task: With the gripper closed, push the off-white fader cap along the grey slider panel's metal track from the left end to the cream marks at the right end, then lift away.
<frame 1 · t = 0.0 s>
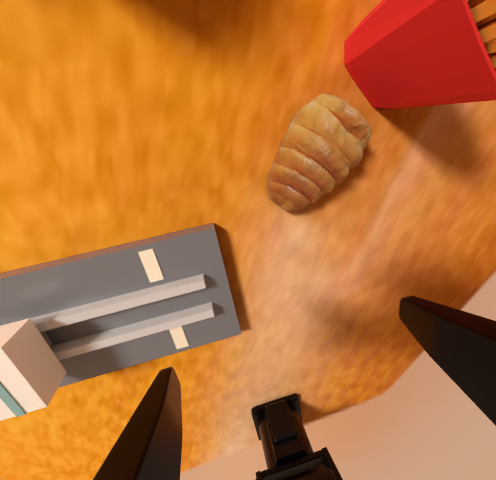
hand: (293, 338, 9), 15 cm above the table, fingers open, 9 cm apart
french fries: (373, 65, 20), on the table
fader: (20, 360, 19), point 4 cm above the table, slide at 6.0 cm
pastry: (310, 155, 22), on the table
grey slider panel: (115, 307, 23), on the table
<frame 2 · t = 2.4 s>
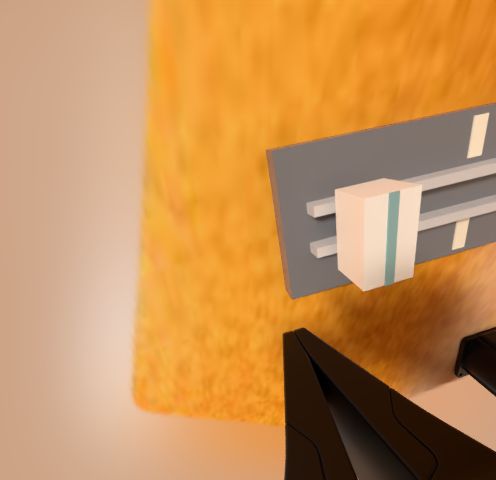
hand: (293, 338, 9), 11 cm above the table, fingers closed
fader: (366, 229, 16), point 4 cm above the table, slide at 6.0 cm
grey slider panel: (399, 198, 21), on the table
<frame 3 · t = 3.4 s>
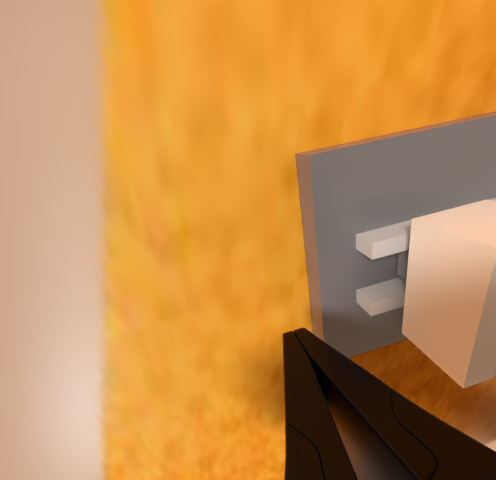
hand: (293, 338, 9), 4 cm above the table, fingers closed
fader: (456, 280, 10), point 4 cm above the table, slide at 6.0 cm
grey slider panel: (476, 220, 15), on the table
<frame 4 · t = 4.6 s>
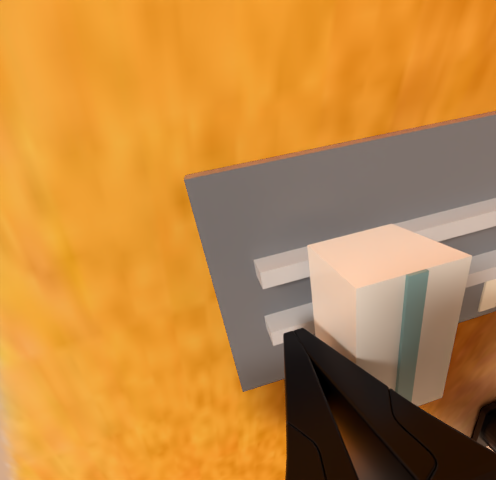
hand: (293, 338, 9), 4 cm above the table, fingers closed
fader: (362, 308, 10), point 4 cm above the table, slide at 5.4 cm, touching gripper
grey slider panel: (403, 240, 14), on the table
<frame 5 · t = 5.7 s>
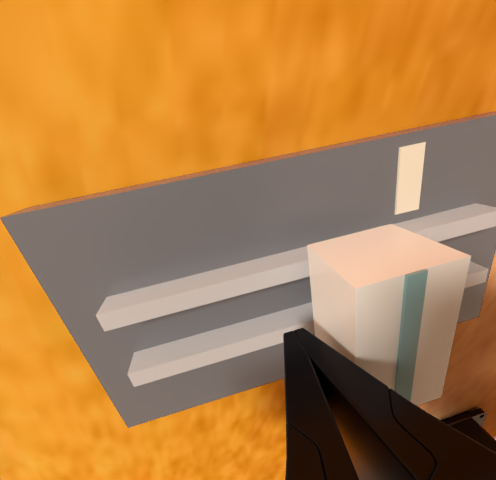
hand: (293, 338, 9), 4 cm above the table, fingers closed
fader: (361, 308, 10), point 4 cm above the table, slide at -1.0 cm, touching gripper
grey slider panel: (299, 268, 13), on the table
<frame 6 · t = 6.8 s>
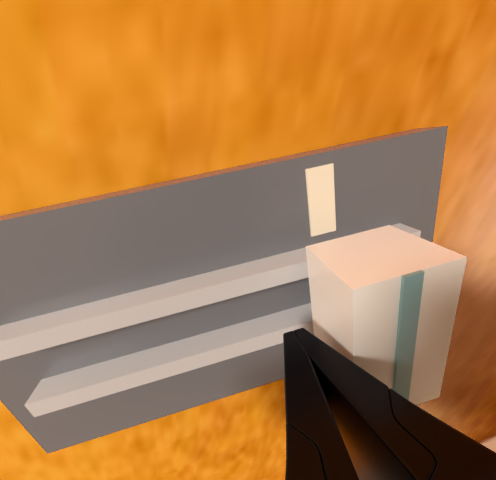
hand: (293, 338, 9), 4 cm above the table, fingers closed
fader: (360, 309, 10), point 4 cm above the table, slide at -5.2 cm, touching gripper
grey slider panel: (225, 288, 13), on the table
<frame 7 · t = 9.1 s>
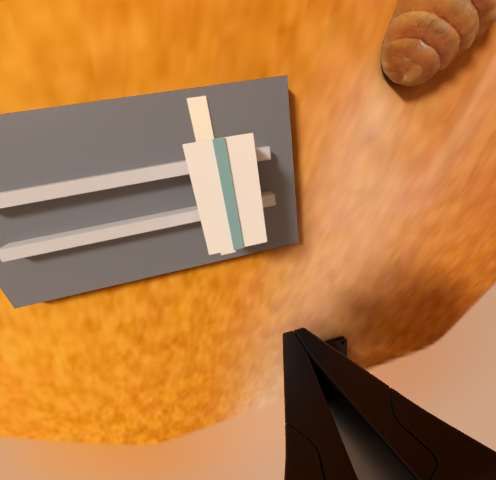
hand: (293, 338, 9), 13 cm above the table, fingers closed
fader: (224, 190, 15), point 4 cm above the table, slide at -5.4 cm
pastry: (430, 14, 18), on the table
grey slider panel: (146, 194, 18), on the table
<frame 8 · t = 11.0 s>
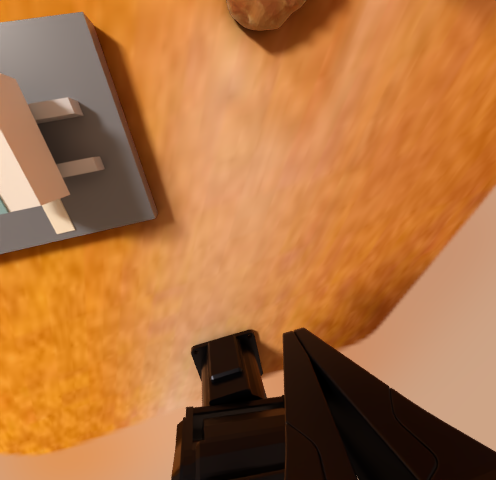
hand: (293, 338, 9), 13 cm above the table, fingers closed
fader: (1, 148, 13), point 4 cm above the table, slide at -5.4 cm
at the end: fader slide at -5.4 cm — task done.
